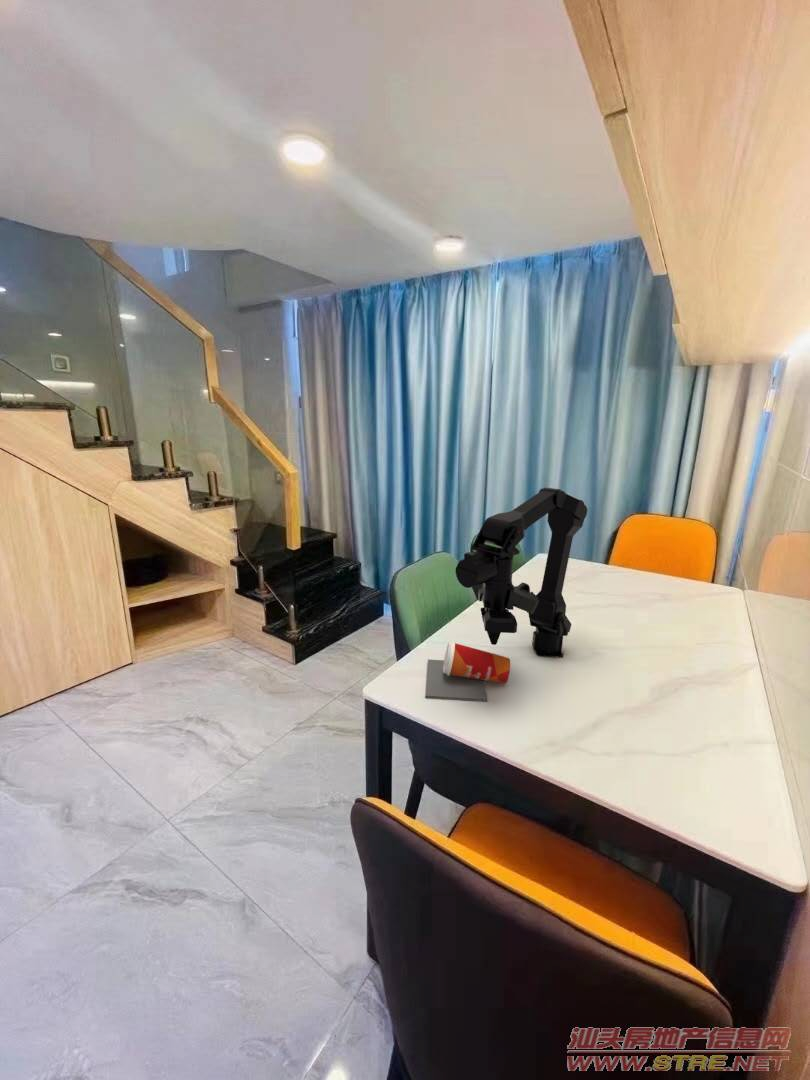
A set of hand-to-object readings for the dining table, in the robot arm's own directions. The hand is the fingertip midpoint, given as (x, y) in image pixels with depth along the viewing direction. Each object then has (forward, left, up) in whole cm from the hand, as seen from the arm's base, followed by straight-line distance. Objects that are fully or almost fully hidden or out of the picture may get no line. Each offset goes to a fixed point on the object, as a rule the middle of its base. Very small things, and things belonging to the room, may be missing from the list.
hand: (493, 643), depth 97 cm
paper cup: (-4, -1, -7) cm, 8 cm away
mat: (+8, 0, -10) cm, 12 cm away
